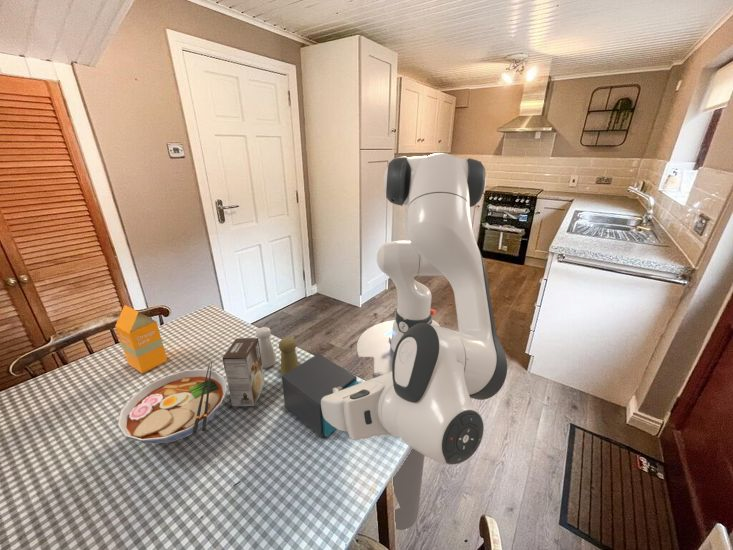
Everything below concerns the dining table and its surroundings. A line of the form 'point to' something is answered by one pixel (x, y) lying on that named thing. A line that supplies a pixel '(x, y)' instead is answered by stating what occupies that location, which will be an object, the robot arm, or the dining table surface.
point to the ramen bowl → (173, 406)
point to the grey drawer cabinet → (313, 389)
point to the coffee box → (244, 371)
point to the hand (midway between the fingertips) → (356, 383)
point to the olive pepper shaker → (288, 355)
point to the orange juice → (140, 340)
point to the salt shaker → (266, 347)
